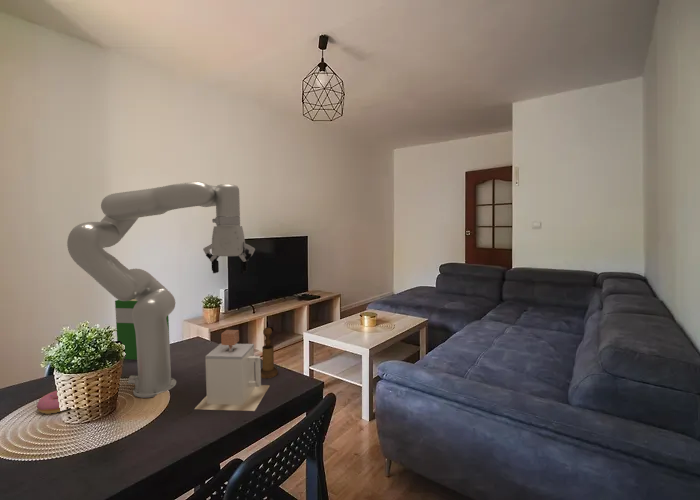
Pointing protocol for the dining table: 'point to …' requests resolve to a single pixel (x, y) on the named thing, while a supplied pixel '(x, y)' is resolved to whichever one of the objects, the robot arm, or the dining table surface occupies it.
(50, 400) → the doughnut
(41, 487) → the dining table surface
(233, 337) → the brown square-faced block
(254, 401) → the birch board
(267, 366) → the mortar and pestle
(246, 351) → the press pot
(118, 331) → the hardback book
